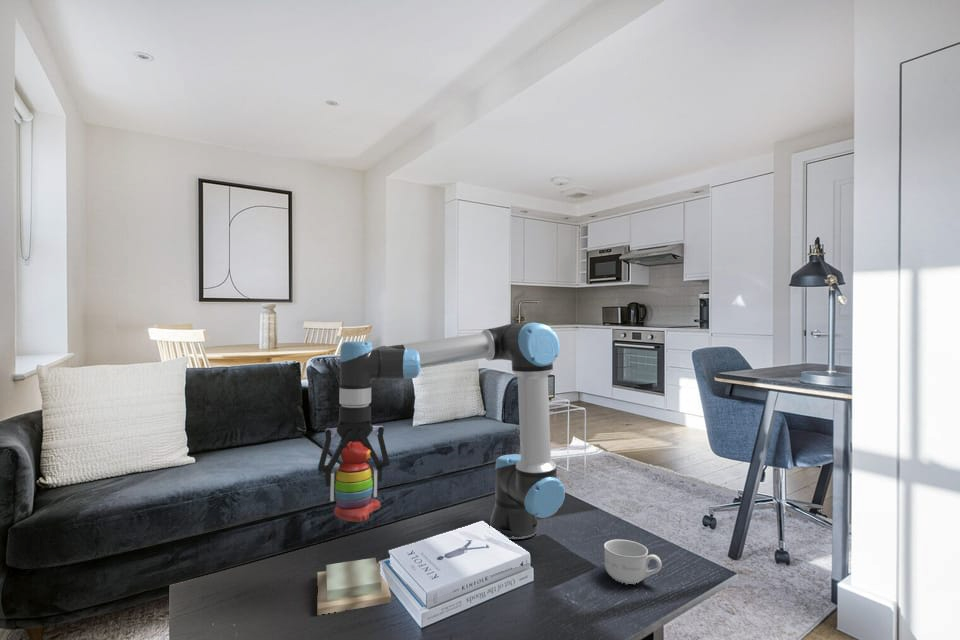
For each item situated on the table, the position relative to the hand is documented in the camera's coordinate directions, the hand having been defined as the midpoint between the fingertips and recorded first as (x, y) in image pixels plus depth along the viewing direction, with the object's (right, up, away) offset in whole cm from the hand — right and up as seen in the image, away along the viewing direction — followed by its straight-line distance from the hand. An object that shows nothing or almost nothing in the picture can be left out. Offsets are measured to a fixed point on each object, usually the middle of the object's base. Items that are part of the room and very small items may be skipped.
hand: (353, 497), depth 115 cm
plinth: (0, -22, -1) cm, 22 cm away
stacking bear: (0, -4, 0) cm, 4 cm away
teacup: (+69, -23, +4) cm, 73 cm away
